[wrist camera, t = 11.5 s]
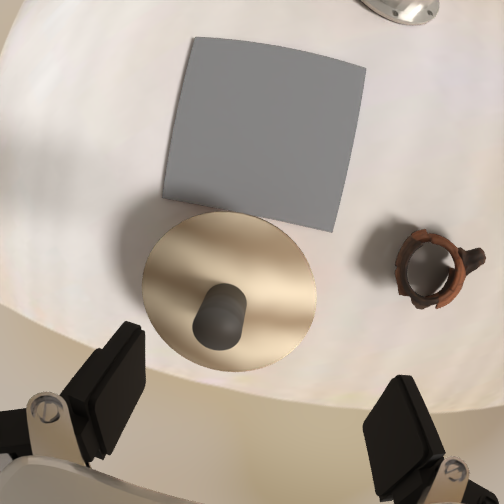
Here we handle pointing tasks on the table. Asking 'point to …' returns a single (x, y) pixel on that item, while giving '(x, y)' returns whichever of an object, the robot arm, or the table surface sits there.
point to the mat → (264, 131)
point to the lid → (229, 291)
